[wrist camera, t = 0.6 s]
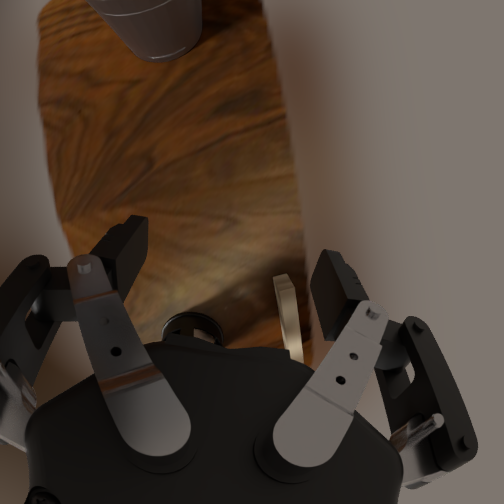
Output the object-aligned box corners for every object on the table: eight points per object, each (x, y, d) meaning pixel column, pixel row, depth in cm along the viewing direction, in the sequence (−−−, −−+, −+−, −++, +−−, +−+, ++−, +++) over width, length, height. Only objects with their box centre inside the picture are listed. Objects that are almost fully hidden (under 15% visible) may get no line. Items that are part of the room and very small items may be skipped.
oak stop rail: (272, 276, 38) (279, 291, 34) (286, 273, 38) (294, 287, 35) (285, 349, 44) (291, 366, 40) (296, 346, 44) (303, 362, 40)
